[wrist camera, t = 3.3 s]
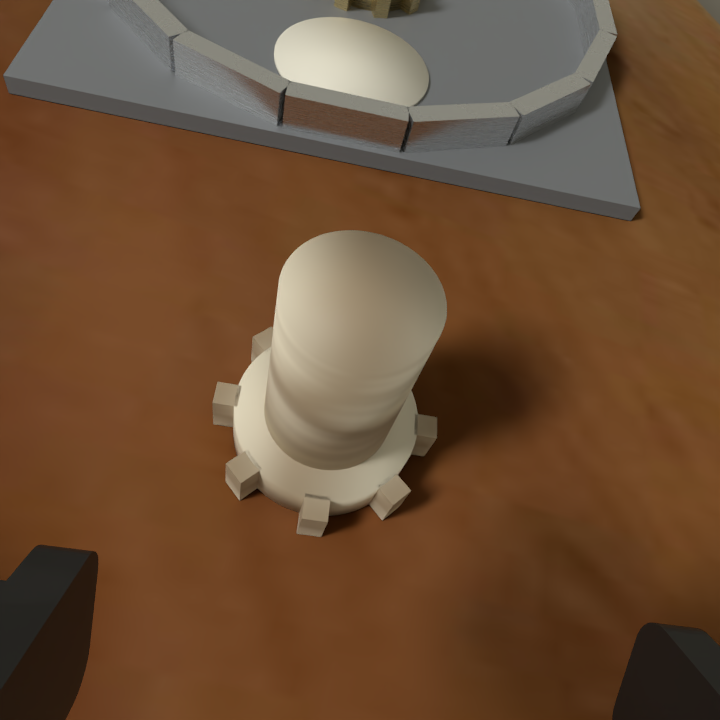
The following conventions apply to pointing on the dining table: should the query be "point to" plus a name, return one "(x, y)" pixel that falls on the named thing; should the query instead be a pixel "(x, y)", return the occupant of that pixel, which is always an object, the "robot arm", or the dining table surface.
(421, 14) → the carrier plate
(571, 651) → the dining table surface
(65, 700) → the robot arm
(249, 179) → the dining table surface
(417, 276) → the planet gear
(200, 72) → the ring gear
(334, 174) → the dining table surface
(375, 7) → the sun gear
